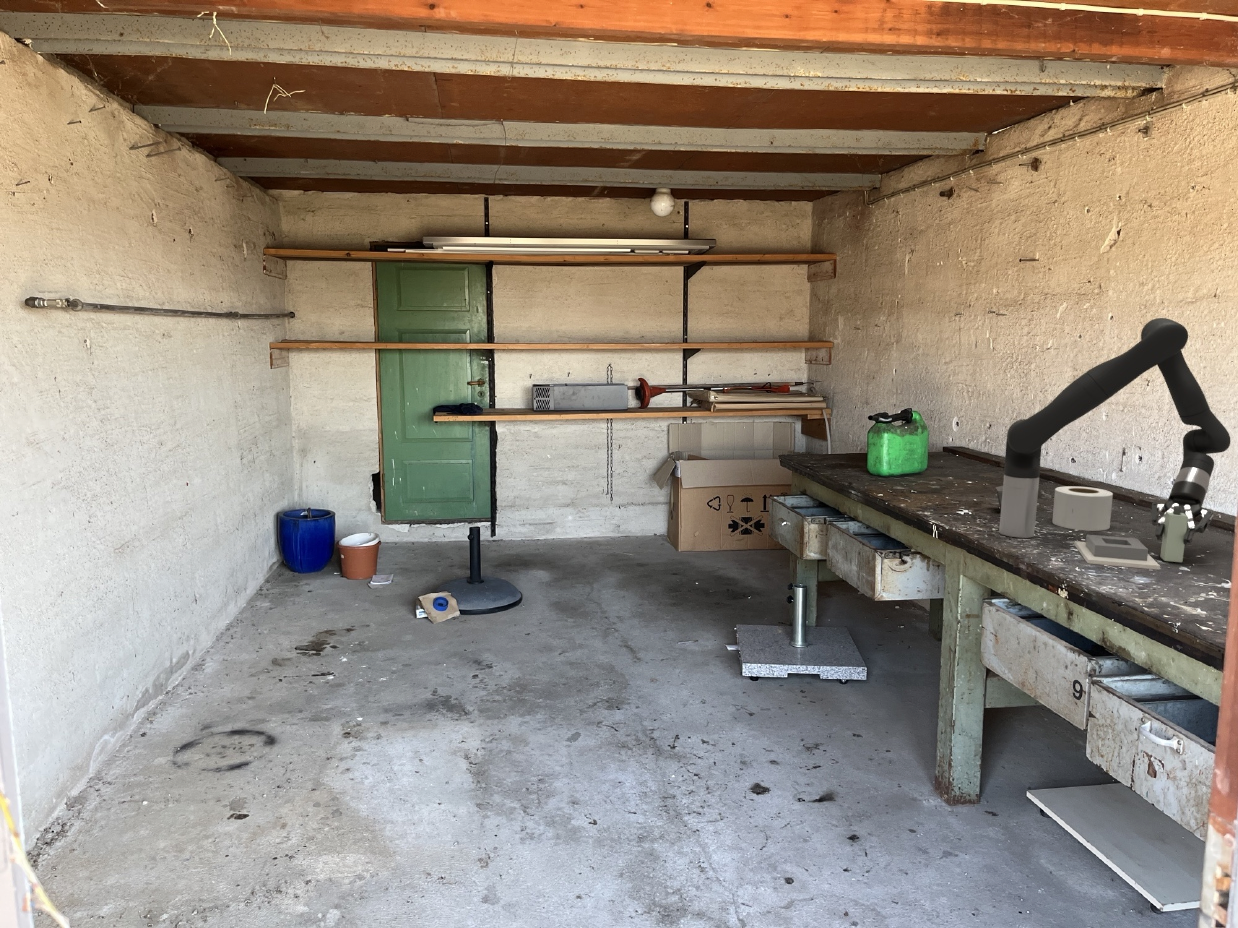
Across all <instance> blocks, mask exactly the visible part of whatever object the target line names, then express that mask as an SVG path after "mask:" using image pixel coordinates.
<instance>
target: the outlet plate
mask: <svg viewBox="0 0 1238 928" xmlns="http://www.w3.org/2000/svg"><path fill="white" fill-rule="evenodd" d="M1073 545H1074V546H1075V547H1076V549H1077V550H1078V552H1079V553H1080V554H1081V556H1082V557H1083V560H1085V561H1086V563H1087V564H1090V565H1102V566H1104V565H1105V566H1111V567H1112V566H1114V567H1115V566H1116V567H1126V568H1134V569H1135V568H1137V569H1138V568H1139V569H1146V570H1147V569H1148V570H1158V571H1160V570H1161V565H1160V564H1159V563H1158V562H1157V561H1156V560H1155V559H1154V558H1153V557H1152V556H1151V555H1150V554H1149V548H1147V547H1146V546H1145V544H1143V543H1142V542H1141V541H1140V540H1139V539H1138V538H1134V537H1122V536H1110V535H1108V536H1107V535H1096V534H1086V536H1085V541H1078V540H1077V541H1076V540H1075V541H1074V544H1073Z"/></svg>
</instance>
